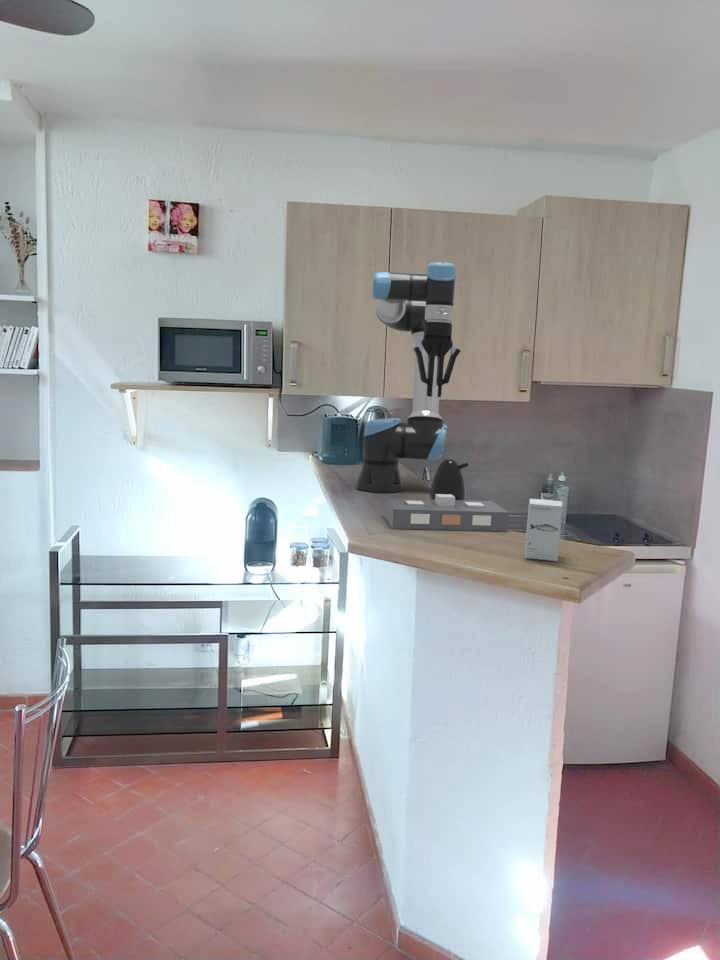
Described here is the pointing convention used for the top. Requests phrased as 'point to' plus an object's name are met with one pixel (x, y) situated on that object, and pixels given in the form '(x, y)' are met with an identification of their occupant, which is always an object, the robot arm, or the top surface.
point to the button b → (444, 500)
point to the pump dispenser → (449, 480)
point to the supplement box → (543, 529)
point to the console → (444, 516)
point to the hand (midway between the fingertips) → (433, 408)
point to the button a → (414, 503)
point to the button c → (474, 505)
